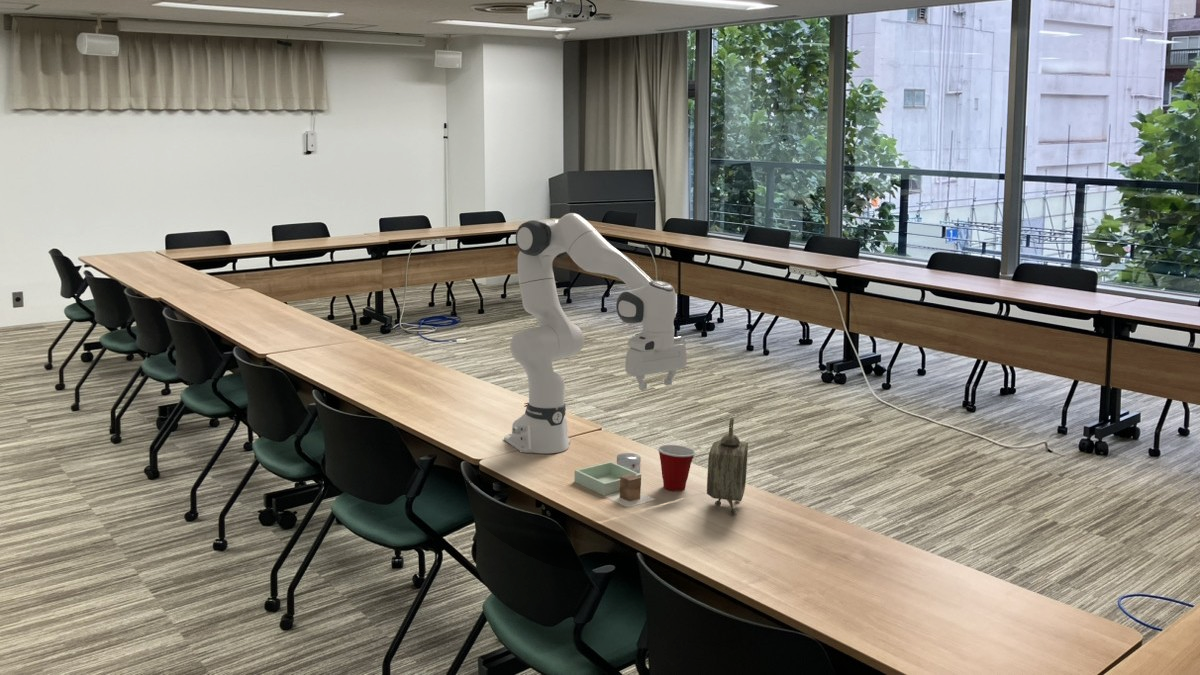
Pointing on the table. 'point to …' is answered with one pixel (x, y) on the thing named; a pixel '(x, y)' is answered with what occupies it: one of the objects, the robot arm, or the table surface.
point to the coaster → (626, 503)
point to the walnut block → (630, 487)
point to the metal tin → (629, 461)
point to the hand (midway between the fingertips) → (655, 387)
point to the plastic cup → (675, 465)
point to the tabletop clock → (727, 469)
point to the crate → (602, 477)
